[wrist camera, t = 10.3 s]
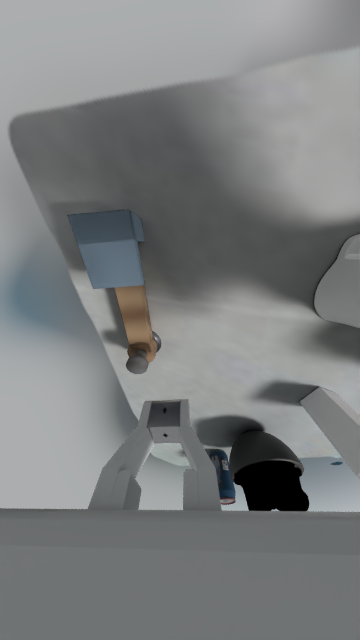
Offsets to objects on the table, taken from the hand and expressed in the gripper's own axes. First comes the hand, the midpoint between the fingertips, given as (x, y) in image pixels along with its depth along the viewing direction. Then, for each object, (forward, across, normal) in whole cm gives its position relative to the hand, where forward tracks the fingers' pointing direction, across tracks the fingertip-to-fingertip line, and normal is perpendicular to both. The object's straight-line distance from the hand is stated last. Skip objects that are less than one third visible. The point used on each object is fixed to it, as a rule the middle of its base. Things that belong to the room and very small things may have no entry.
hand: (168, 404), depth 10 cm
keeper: (+20, +8, -10) cm, 23 cm away
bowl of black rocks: (+21, -20, +50) cm, 58 cm away
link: (+19, +8, +1) cm, 21 cm away
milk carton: (+21, -36, +32) cm, 53 cm away
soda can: (+20, -8, +63) cm, 67 cm away
